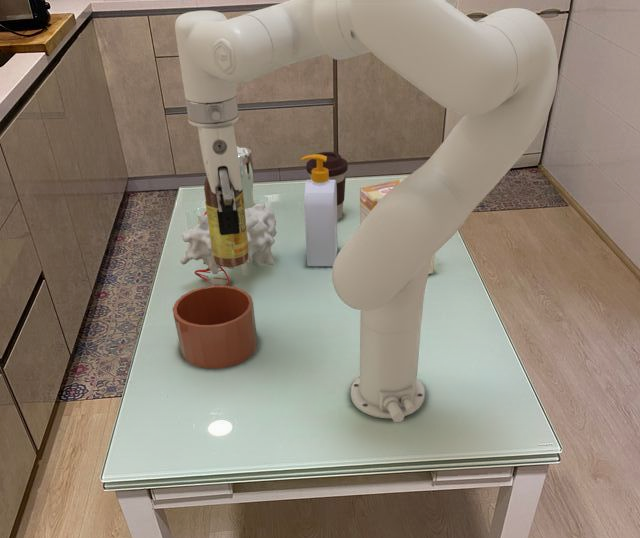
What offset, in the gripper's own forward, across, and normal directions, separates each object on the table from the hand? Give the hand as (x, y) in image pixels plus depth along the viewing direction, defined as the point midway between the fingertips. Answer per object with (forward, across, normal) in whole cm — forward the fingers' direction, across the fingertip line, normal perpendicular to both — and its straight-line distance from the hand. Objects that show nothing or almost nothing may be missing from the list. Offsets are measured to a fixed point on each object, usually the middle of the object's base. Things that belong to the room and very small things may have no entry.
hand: (227, 223), depth 111 cm
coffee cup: (+25, +51, -29) cm, 64 cm away
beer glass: (+25, +61, -9) cm, 67 cm away
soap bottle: (+25, +30, -23) cm, 45 cm away
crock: (+25, +1, +4) cm, 25 cm away
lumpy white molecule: (+25, +27, -2) cm, 37 cm away
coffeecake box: (+25, +18, -37) cm, 48 cm away
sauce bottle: (+7, 0, 0) cm, 7 cm away
